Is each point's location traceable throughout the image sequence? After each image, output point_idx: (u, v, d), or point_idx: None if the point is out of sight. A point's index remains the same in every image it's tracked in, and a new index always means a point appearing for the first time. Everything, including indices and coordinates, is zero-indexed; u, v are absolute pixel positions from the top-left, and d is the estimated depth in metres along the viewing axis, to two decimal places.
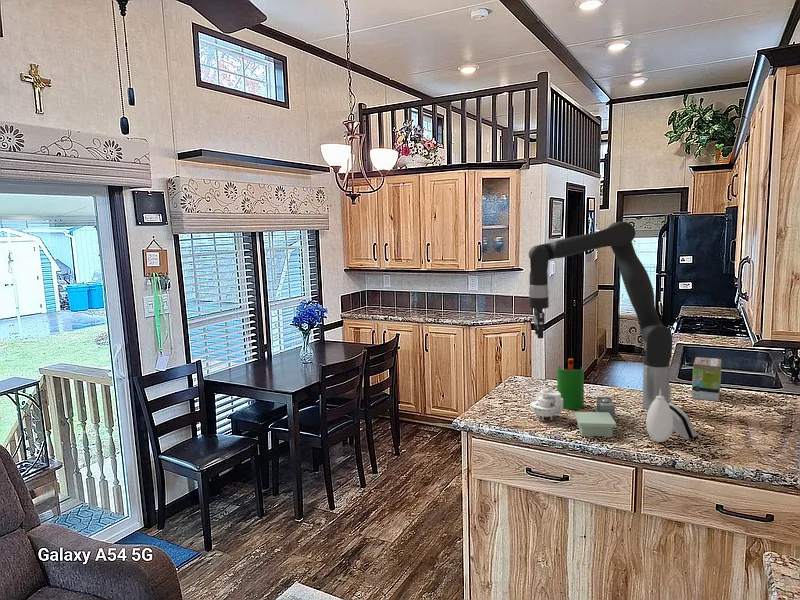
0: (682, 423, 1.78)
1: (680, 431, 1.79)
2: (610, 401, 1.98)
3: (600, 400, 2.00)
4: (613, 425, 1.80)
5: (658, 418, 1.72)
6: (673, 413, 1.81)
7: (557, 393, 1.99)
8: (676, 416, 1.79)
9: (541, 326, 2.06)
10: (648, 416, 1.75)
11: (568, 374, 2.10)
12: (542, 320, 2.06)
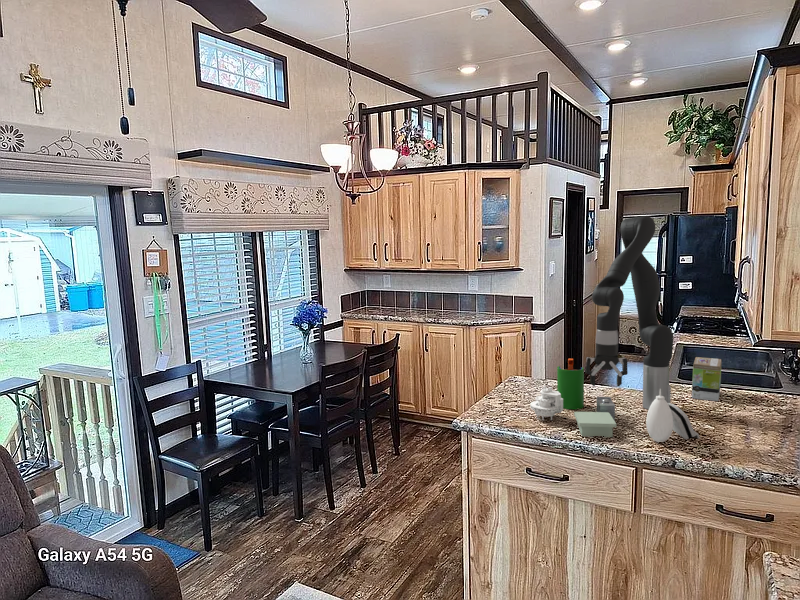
0: (681, 423, 1.78)
1: (679, 431, 1.80)
2: (610, 401, 1.98)
3: (600, 400, 2.00)
4: (613, 425, 1.80)
5: (658, 418, 1.72)
6: (672, 413, 1.81)
7: (557, 393, 1.99)
8: (675, 416, 1.80)
9: None
10: (648, 416, 1.75)
11: (568, 374, 2.10)
12: None
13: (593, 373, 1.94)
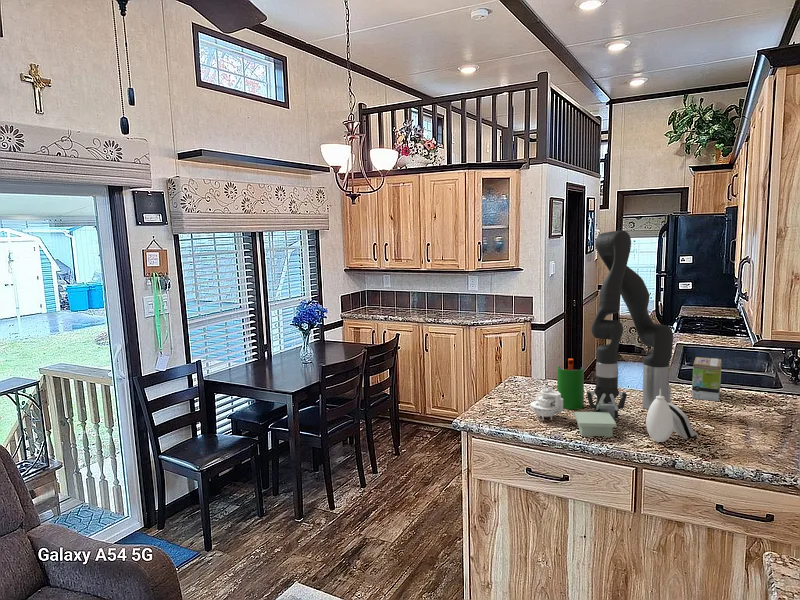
0: (680, 422, 1.78)
1: (679, 430, 1.80)
2: None
3: None
4: (613, 425, 1.80)
5: (658, 418, 1.72)
6: (672, 412, 1.82)
7: (557, 393, 1.99)
8: (674, 415, 1.80)
9: None
10: (648, 416, 1.75)
11: (568, 374, 2.10)
12: None
13: (598, 407, 1.95)
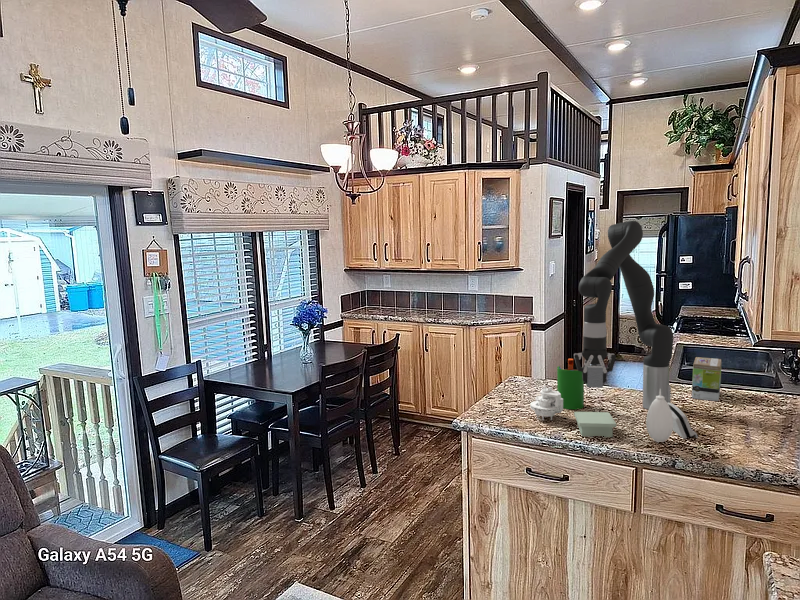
0: (679, 422, 1.79)
1: (678, 430, 1.80)
2: (598, 364, 1.88)
3: (588, 363, 1.89)
4: (613, 425, 1.80)
5: (658, 418, 1.72)
6: None
7: (557, 393, 1.99)
8: (674, 415, 1.80)
9: None
10: (648, 416, 1.75)
11: (568, 374, 2.10)
12: None
13: (585, 370, 1.85)
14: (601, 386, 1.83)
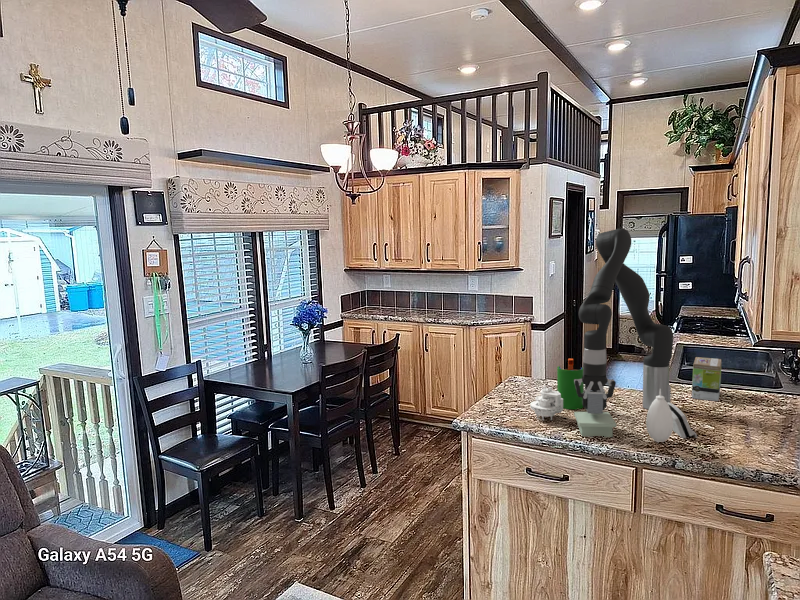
0: (679, 422, 1.79)
1: (677, 430, 1.81)
2: None
3: None
4: (613, 425, 1.80)
5: (658, 418, 1.72)
6: None
7: (557, 393, 1.99)
8: (673, 415, 1.81)
9: None
10: (648, 416, 1.75)
11: (568, 374, 2.10)
12: None
13: (585, 396, 1.85)
14: (601, 412, 1.84)
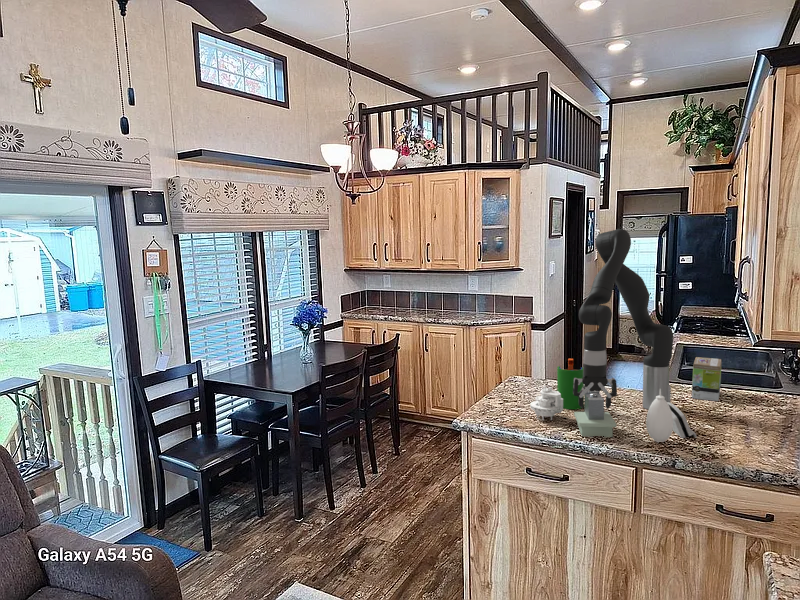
0: (678, 422, 1.79)
1: (677, 430, 1.81)
2: (599, 395, 1.89)
3: (588, 394, 1.90)
4: (613, 425, 1.80)
5: (658, 418, 1.72)
6: None
7: (557, 393, 1.99)
8: (672, 415, 1.81)
9: None
10: (648, 416, 1.75)
11: (568, 374, 2.10)
12: None
13: (581, 395, 1.86)
14: (602, 418, 1.84)
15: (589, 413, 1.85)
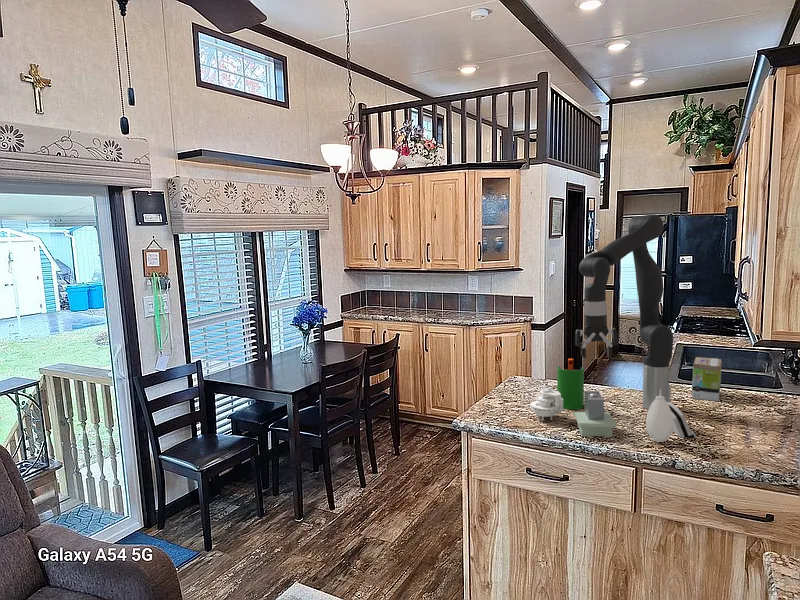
0: (677, 422, 1.79)
1: (676, 429, 1.81)
2: (599, 395, 1.89)
3: (588, 394, 1.90)
4: (613, 425, 1.80)
5: (658, 418, 1.72)
6: None
7: (557, 393, 1.99)
8: (672, 415, 1.81)
9: None
10: (648, 416, 1.75)
11: (568, 374, 2.10)
12: None
13: (583, 345, 1.92)
14: (602, 418, 1.84)
15: (589, 413, 1.85)
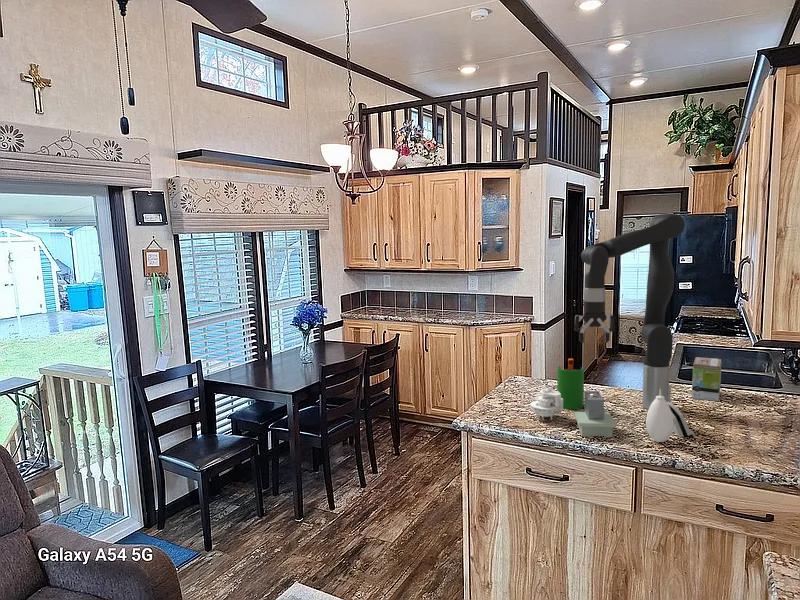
0: (676, 421, 1.79)
1: (675, 429, 1.81)
2: (599, 395, 1.89)
3: (588, 394, 1.90)
4: (613, 425, 1.80)
5: (658, 418, 1.72)
6: None
7: (557, 393, 1.99)
8: None
9: None
10: (648, 416, 1.75)
11: (568, 374, 2.10)
12: None
13: (582, 330, 2.00)
14: (602, 418, 1.84)
15: (589, 413, 1.85)
